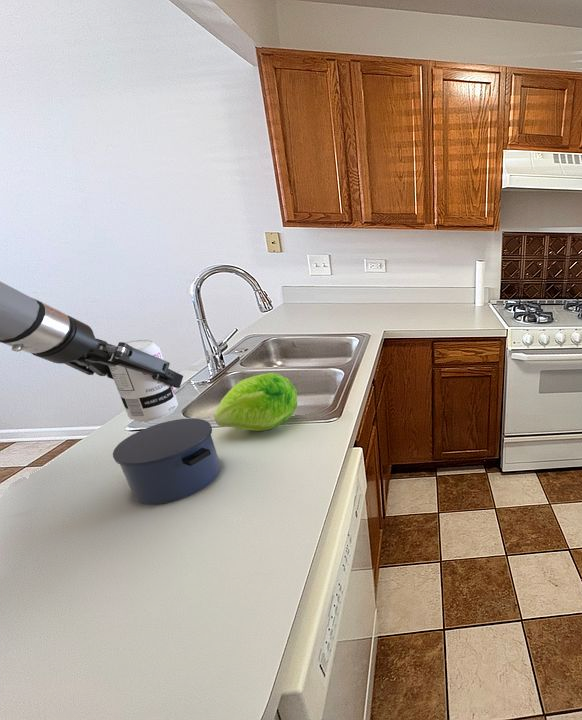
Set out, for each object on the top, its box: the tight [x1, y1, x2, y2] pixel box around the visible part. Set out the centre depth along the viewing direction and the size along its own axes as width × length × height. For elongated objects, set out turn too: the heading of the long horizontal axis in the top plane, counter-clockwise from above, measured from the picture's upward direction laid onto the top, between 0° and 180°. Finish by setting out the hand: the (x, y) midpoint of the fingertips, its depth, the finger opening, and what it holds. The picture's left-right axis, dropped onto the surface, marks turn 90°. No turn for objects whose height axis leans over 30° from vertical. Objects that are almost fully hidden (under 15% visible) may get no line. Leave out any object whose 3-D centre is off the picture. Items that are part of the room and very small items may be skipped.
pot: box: [112, 417, 222, 506], centre depth 87 cm, size 20×17×11 cm
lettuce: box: [213, 372, 298, 432], centre depth 107 cm, size 17×20×15 cm
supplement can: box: [108, 339, 179, 423], centre depth 80 cm, size 8×8×15 cm
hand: (159, 381), depth 83 cm, fingers closed on supplement can, 8 cm apart
